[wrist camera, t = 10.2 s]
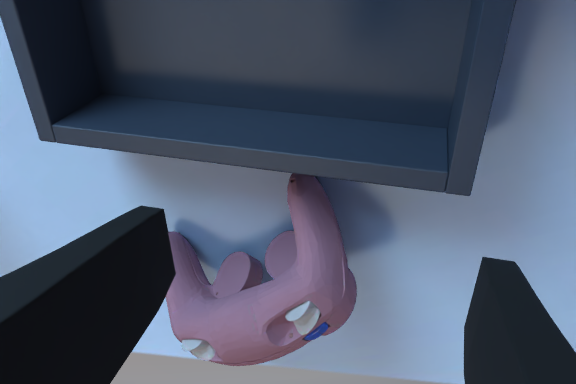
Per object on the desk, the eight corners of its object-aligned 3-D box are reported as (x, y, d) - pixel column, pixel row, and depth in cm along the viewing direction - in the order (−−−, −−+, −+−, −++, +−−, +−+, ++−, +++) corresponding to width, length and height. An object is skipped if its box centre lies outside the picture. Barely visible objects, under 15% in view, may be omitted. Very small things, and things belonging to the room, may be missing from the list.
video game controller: (214, 261, 28) (204, 387, 24) (152, 230, 25) (128, 367, 21) (361, 201, 23) (379, 346, 19) (306, 153, 20) (313, 313, 16)
